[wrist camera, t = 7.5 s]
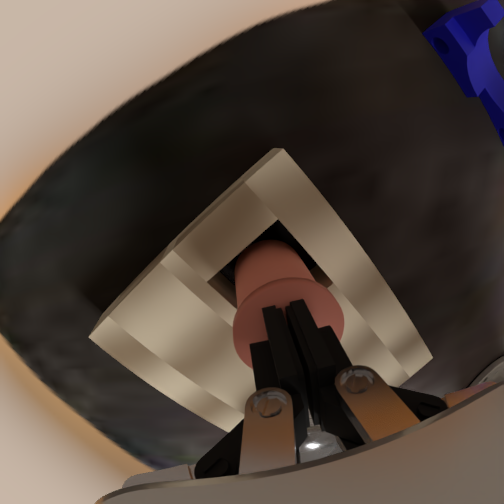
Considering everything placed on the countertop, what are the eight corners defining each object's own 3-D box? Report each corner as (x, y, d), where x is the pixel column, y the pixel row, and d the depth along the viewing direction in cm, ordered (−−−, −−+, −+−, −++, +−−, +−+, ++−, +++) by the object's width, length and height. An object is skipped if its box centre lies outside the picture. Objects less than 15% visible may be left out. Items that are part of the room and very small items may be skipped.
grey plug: (325, 387, 23) (348, 444, 17) (284, 414, 24) (297, 471, 18) (294, 362, 22) (314, 424, 16) (249, 392, 23) (257, 454, 17)
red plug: (321, 272, 18) (363, 331, 12) (264, 319, 19) (281, 390, 13) (273, 217, 17) (300, 259, 11) (212, 271, 17) (208, 335, 11)
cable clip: (420, 33, 15) (472, 14, 9) (445, 13, 14) (493, -5, 8) (495, 156, 18) (547, 167, 12) (514, 128, 17) (562, 134, 12)
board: (416, 338, 23) (433, 357, 20) (278, 435, 26) (283, 458, 23) (273, 147, 17) (283, 148, 14) (102, 313, 19) (88, 337, 17)
